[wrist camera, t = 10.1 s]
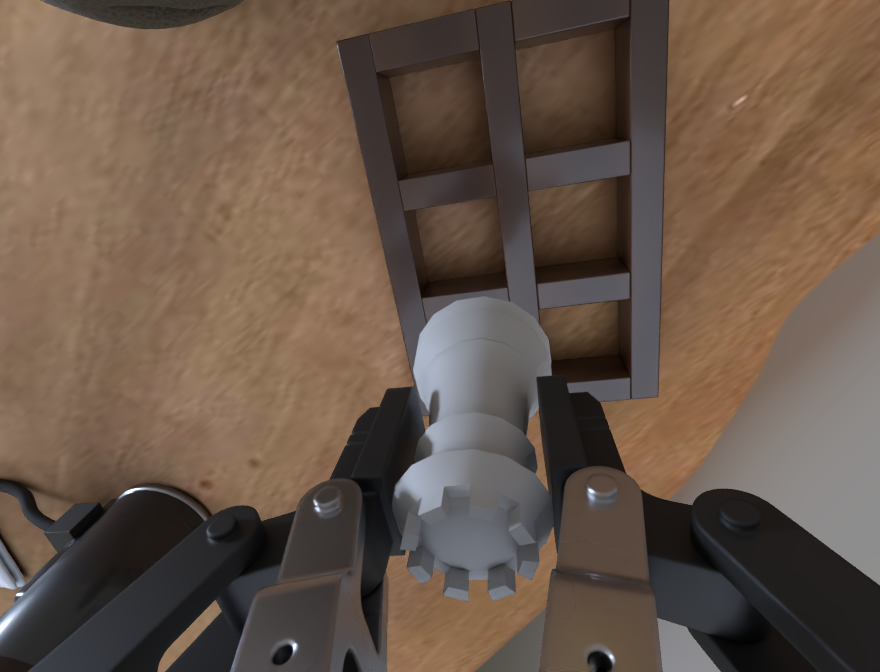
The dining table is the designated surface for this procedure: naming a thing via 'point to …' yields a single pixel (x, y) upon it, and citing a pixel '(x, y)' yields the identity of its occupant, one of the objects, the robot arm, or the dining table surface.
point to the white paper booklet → (9, 570)
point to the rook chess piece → (476, 450)
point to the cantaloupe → (146, 11)
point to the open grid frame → (527, 173)
